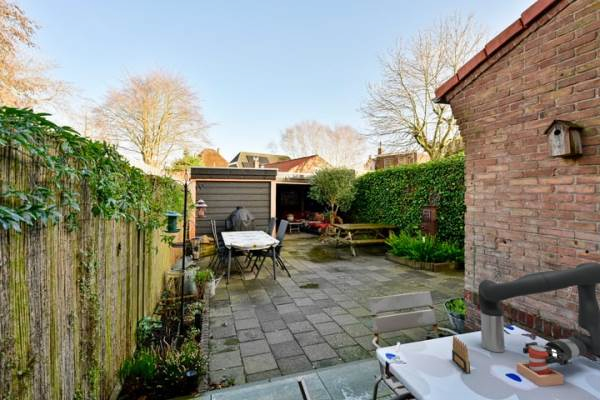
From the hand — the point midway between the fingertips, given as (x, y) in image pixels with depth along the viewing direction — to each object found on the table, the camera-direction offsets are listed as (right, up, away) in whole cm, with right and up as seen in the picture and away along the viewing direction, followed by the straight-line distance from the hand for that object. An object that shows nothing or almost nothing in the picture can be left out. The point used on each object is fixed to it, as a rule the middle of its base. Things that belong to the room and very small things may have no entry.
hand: (534, 356), depth 115 cm
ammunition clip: (-25, -10, +9) cm, 29 cm away
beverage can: (+2, -9, 0) cm, 9 cm away
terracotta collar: (+2, -9, 0) cm, 9 cm away
